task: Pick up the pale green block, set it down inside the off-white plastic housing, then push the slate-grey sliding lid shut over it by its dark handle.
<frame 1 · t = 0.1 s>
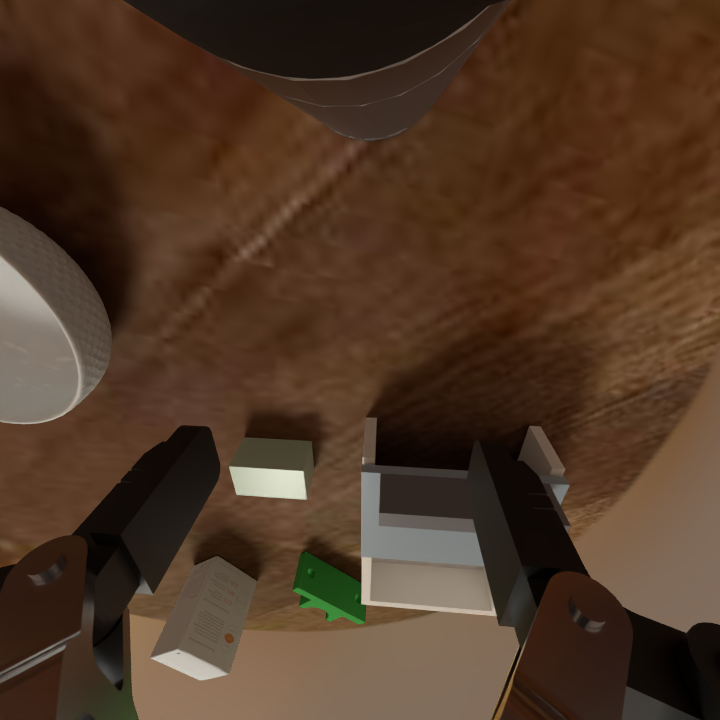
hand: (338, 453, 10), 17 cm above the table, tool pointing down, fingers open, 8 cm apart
housing: (430, 538, 40), on the table
small box: (226, 571, 49), on the table
pale green block: (280, 452, 35), on the table
cereal bowl: (44, 291, 28), on the table
lid: (455, 540, 28), point 7 cm above the table, slide at 12.0 cm
pipe clamp: (329, 570, 47), on the table
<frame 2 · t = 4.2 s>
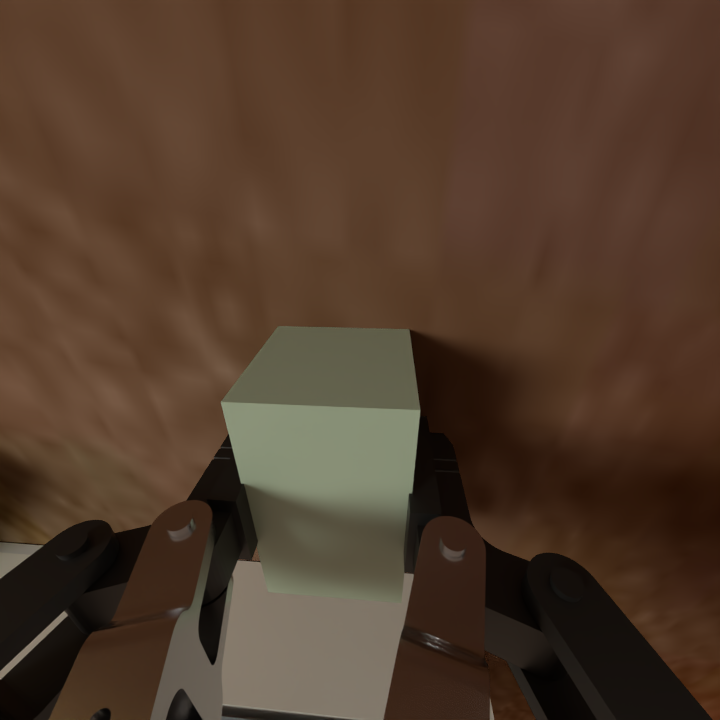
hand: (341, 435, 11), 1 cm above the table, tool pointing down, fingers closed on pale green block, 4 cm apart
housing: (143, 628, 21), on the table
pale green block: (345, 419, 12), on the table, touching gripper
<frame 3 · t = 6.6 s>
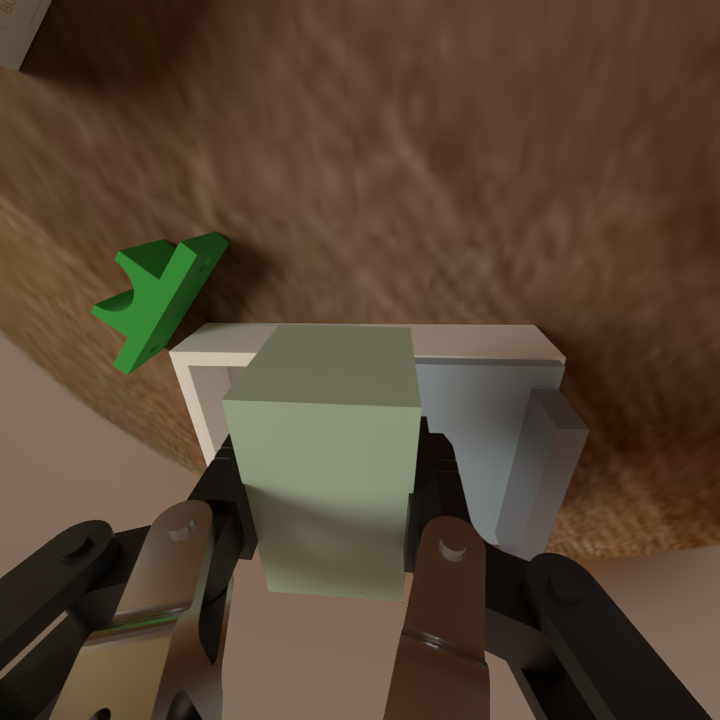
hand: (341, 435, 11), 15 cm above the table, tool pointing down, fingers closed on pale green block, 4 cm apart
housing: (294, 408, 29), on the table
pale green block: (346, 418, 12), point 14 cm above the table, touching gripper
lid: (445, 482, 22), point 7 cm above the table, slide at 12.0 cm
pipe clamp: (176, 283, 25), on the table
when the fingers open (6 cm above the table, at t = 9.1 s): pale green block drops 5 cm, resting on housing.
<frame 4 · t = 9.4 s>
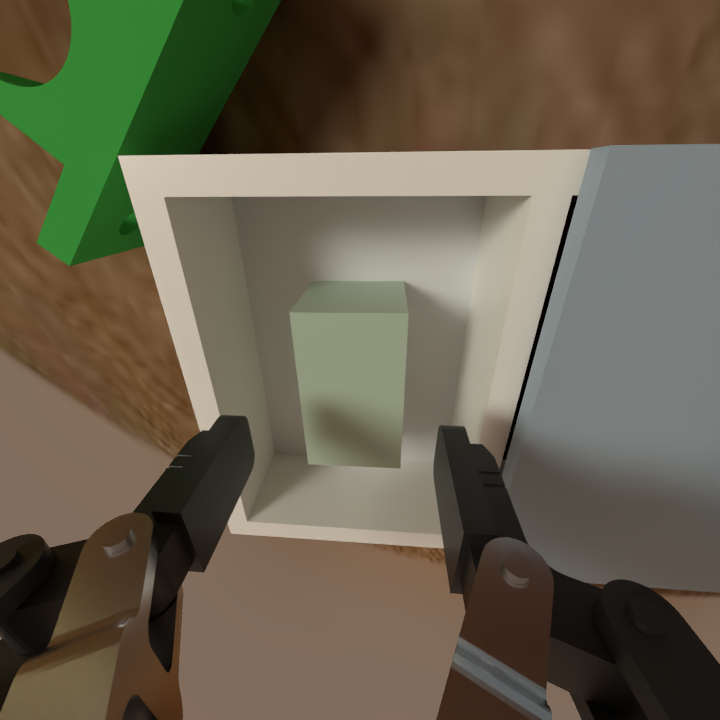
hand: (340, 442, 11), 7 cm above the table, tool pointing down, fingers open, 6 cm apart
housing: (358, 347, 17), on the table
pale green block: (359, 352, 16), resting on housing
pipe clamp: (175, 95, 13), on the table
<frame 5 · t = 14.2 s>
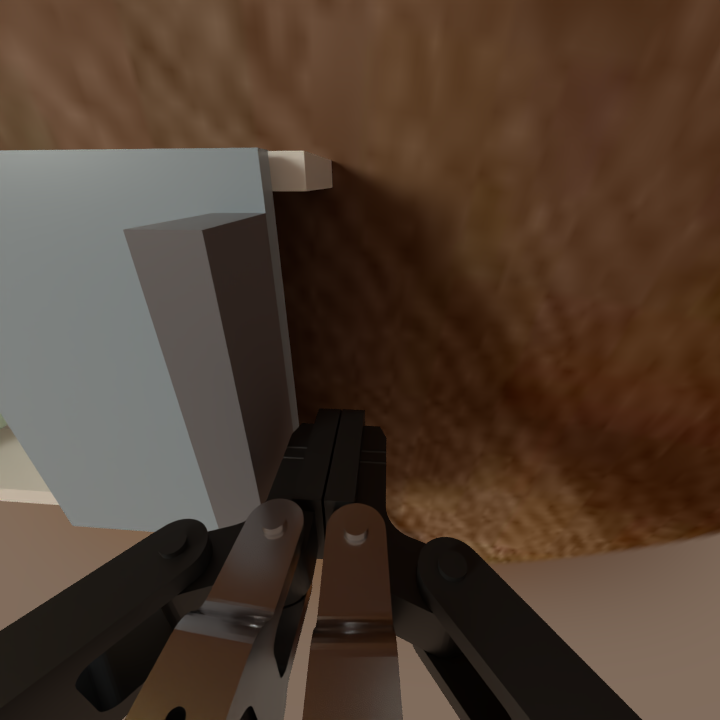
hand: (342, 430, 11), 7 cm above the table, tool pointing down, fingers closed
housing: (11, 328, 19), on the table
lid: (107, 423, 11), point 7 cm above the table, slide at 11.6 cm, touching gripper
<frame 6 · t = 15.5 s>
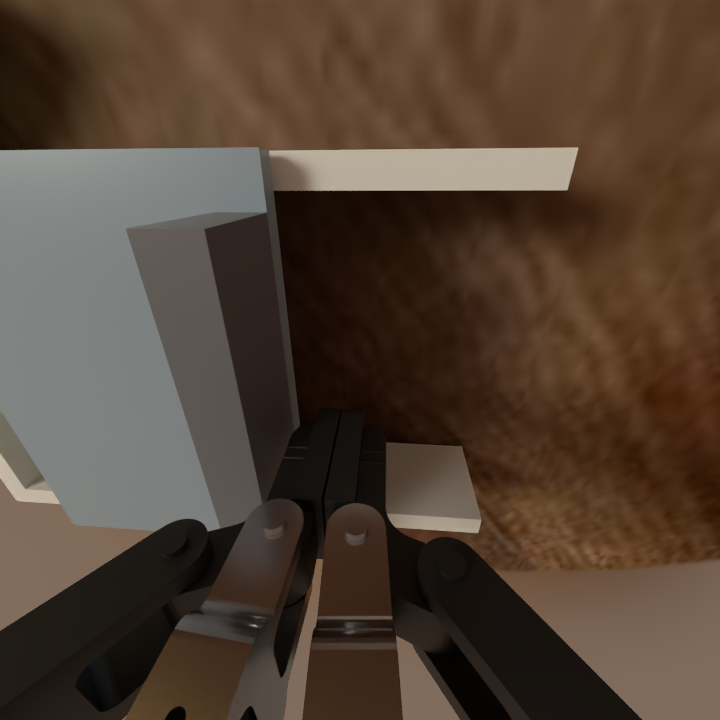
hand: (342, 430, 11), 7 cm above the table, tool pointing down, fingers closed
housing: (135, 331, 18), on the table
lid: (108, 422, 11), point 7 cm above the table, slide at 4.3 cm, touching gripper
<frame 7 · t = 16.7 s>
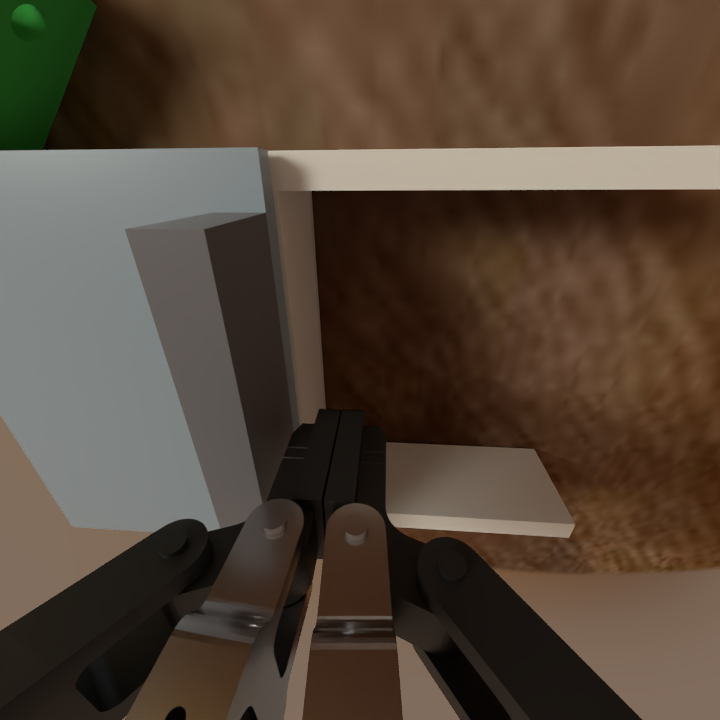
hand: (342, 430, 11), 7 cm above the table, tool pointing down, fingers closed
housing: (210, 334, 18), on the table
lid: (107, 423, 11), point 7 cm above the table, slide at -0.1 cm, touching gripper
pipe clamp: (13, 105, 14), on the table
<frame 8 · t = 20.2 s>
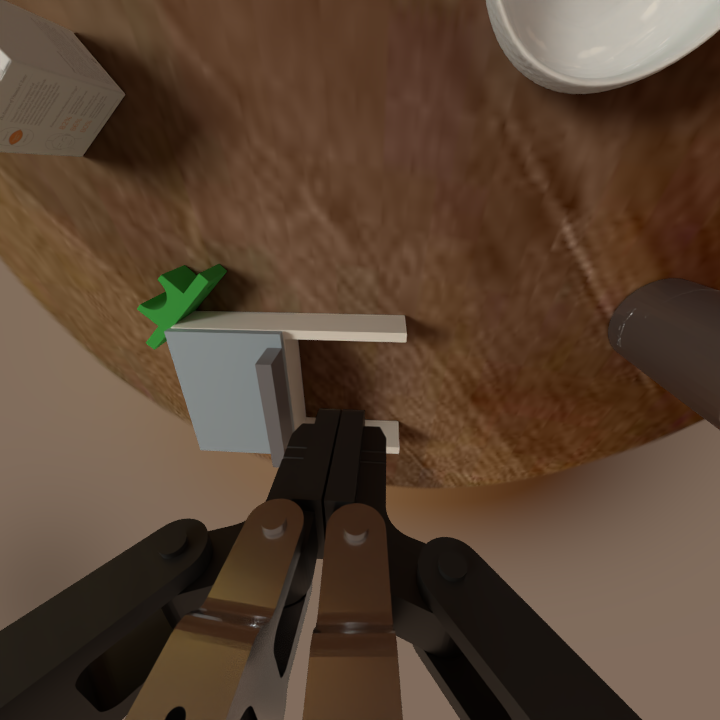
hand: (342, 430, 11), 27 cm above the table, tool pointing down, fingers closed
housing: (255, 371, 43), on the table
small box: (80, 99, 30), on the table
lid: (230, 406, 36), point 7 cm above the table, slide at 0.0 cm
pipe clamp: (189, 292, 39), on the table
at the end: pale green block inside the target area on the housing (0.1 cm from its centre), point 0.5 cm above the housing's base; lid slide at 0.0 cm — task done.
